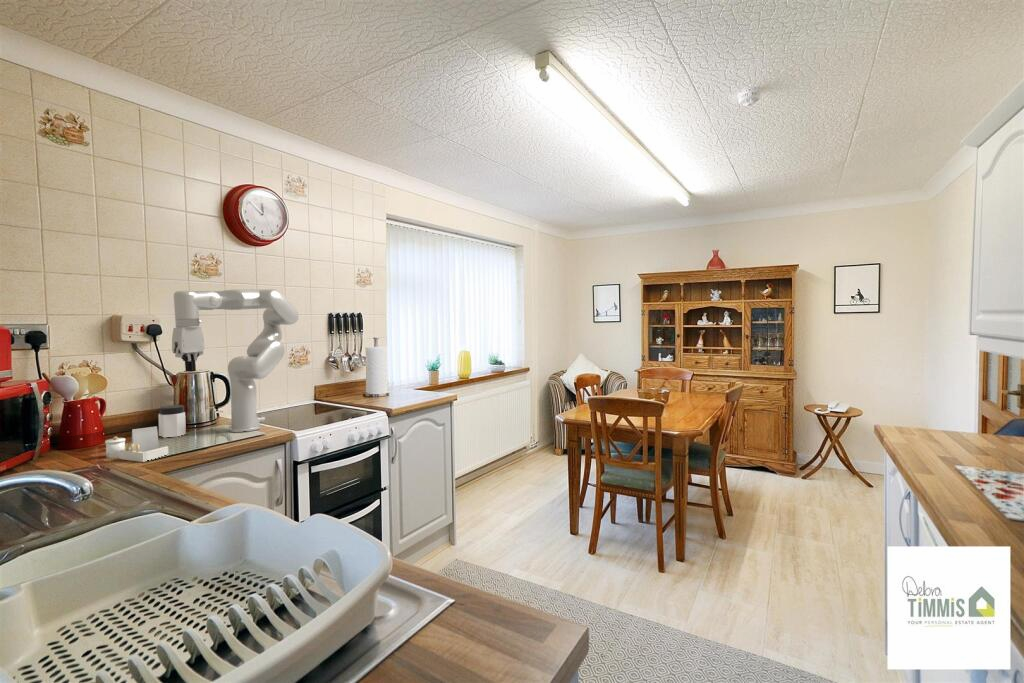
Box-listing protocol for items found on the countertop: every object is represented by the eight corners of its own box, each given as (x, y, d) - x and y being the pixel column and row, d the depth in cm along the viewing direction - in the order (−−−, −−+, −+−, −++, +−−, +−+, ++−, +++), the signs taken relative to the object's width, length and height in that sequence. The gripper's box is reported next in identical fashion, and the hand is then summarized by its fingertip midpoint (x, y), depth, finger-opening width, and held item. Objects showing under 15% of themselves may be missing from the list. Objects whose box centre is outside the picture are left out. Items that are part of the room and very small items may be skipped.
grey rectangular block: (158, 455, 163) (157, 427, 163) (133, 459, 158) (133, 430, 158) (156, 453, 166) (155, 425, 165) (132, 457, 161) (131, 428, 160)
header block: (145, 452, 167) (145, 437, 167) (168, 455, 164) (168, 439, 164) (119, 459, 159) (118, 443, 159) (143, 462, 156) (142, 445, 155)
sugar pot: (118, 453, 166) (118, 434, 166) (129, 454, 165) (129, 435, 164) (101, 457, 161) (101, 437, 161) (112, 458, 159) (112, 438, 159)
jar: (171, 433, 196) (170, 404, 195) (190, 433, 195) (189, 404, 195) (153, 438, 187) (153, 408, 186) (173, 438, 187) (172, 408, 186)
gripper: (197, 322, 187) (200, 368, 189) (160, 324, 173) (164, 373, 174) (212, 322, 185) (215, 368, 187) (176, 324, 171) (179, 374, 172)
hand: (190, 371), depth 180 cm, fingers closed
